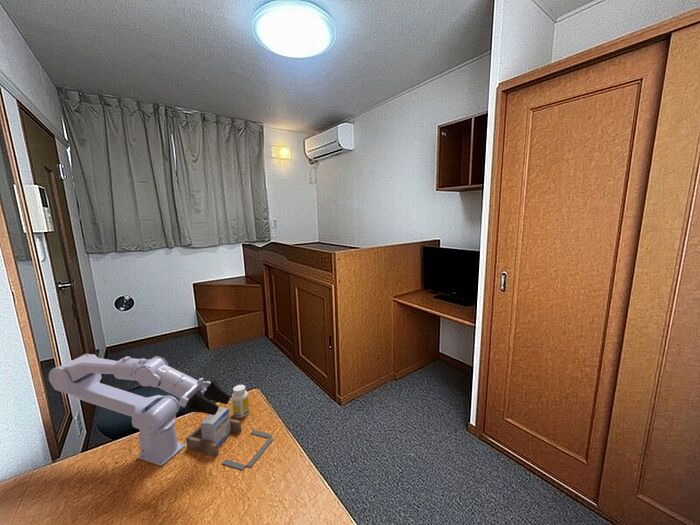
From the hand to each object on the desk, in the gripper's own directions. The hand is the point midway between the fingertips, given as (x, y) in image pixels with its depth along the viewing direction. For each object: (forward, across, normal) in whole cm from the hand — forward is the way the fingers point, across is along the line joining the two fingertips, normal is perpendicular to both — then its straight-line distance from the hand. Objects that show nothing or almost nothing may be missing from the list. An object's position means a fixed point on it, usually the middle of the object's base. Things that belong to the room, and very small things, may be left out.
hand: (223, 405), depth 83 cm
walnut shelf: (0, +12, +16) cm, 20 cm away
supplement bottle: (+2, +24, +12) cm, 27 cm away
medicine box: (0, +11, +16) cm, 19 cm away
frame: (+11, +8, +12) cm, 18 cm away
